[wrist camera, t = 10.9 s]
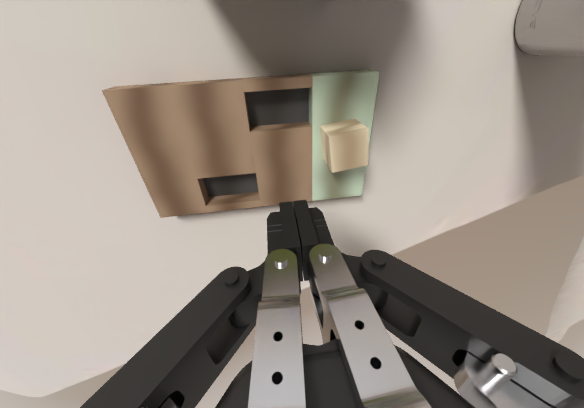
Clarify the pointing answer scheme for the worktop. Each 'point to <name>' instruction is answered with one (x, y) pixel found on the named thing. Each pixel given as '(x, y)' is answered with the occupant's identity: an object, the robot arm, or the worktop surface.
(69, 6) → the worktop surface
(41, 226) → the worktop surface
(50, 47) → the worktop surface
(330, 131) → the block
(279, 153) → the board
